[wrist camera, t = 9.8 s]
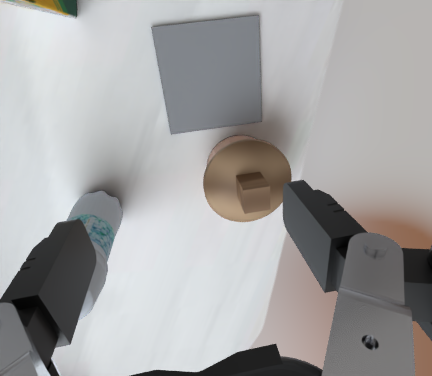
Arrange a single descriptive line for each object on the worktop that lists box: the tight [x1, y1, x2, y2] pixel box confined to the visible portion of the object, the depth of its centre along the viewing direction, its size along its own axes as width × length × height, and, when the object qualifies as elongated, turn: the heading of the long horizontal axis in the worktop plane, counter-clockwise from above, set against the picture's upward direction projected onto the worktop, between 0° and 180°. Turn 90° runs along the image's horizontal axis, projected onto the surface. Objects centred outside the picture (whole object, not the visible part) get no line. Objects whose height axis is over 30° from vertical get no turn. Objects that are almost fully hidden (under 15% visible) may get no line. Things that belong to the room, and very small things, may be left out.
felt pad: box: [151, 15, 262, 134], centre depth 33 cm, size 12×12×1 cm
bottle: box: [67, 191, 123, 320], centre depth 30 cm, size 7×7×20 cm
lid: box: [203, 139, 291, 222], centre depth 33 cm, size 11×11×5 cm
